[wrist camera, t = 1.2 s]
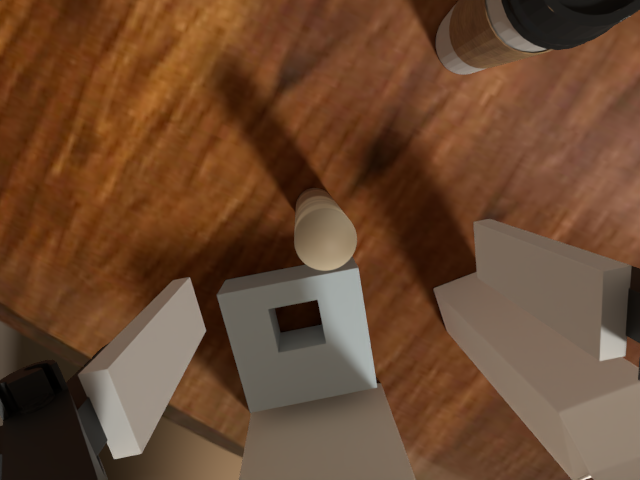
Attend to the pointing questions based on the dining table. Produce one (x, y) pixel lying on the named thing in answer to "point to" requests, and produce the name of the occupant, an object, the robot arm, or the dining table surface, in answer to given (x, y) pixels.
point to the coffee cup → (521, 29)
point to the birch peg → (322, 231)
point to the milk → (549, 381)
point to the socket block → (298, 335)
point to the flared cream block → (327, 441)
